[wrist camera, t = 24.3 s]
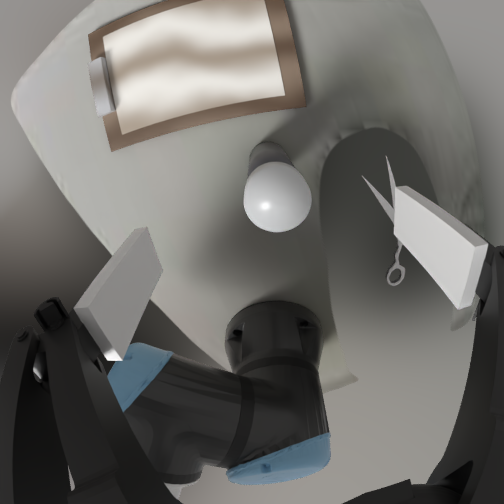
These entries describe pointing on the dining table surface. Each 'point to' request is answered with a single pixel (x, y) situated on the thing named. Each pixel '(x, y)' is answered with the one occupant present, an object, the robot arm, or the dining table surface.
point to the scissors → (391, 214)
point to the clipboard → (192, 66)
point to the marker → (275, 190)
